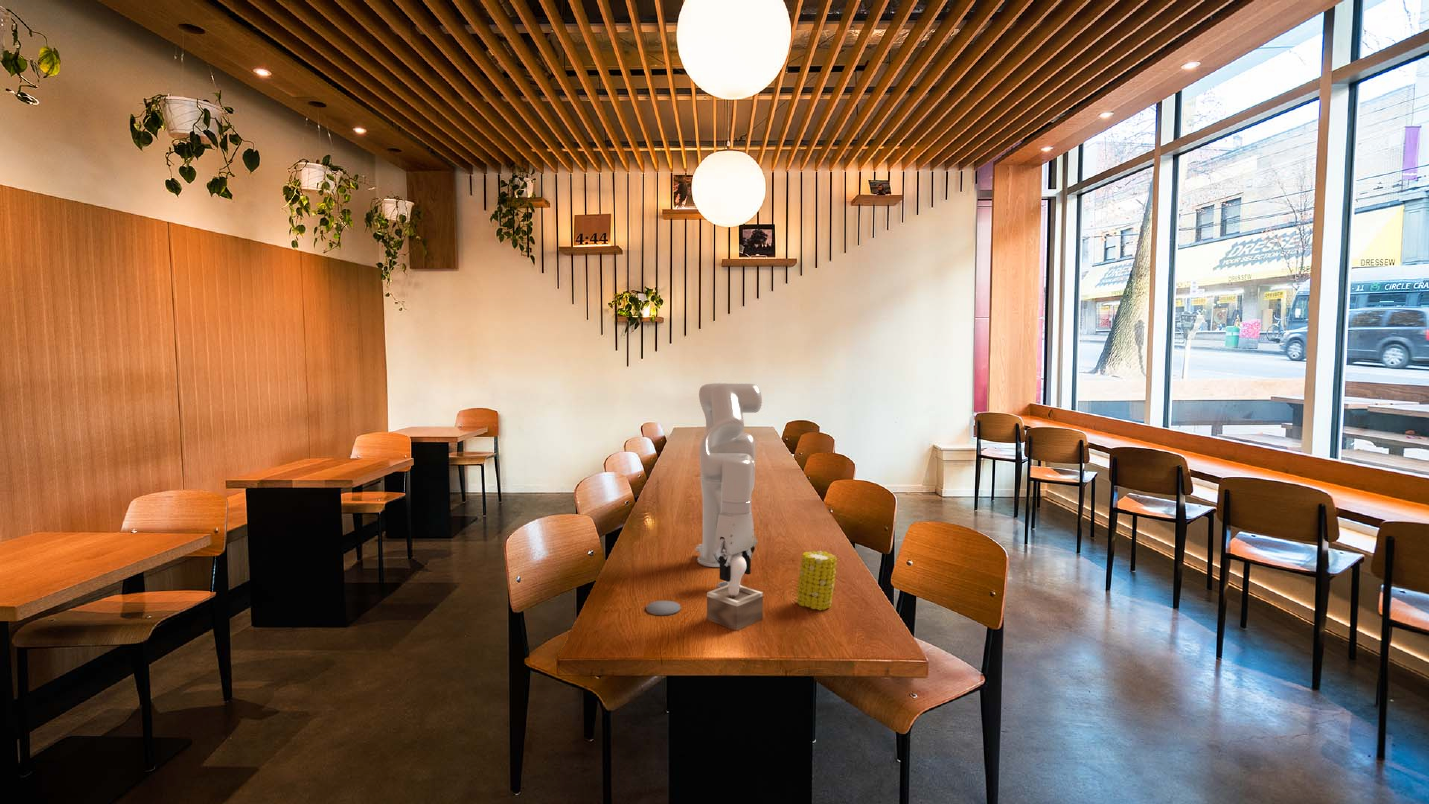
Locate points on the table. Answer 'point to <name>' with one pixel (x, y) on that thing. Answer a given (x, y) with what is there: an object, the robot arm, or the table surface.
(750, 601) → the square holder
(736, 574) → the lightbulb
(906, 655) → the table surface
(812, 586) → the food
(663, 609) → the grey flat disc
